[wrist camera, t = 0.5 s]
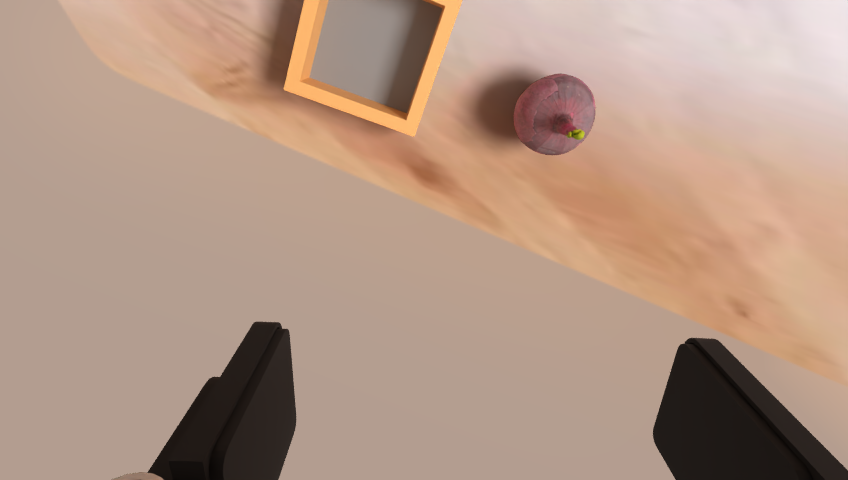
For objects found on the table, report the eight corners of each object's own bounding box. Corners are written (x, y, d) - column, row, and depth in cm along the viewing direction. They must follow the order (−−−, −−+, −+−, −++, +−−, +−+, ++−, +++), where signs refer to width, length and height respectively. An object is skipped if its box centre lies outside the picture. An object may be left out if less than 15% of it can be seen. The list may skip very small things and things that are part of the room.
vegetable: (499, 138, 41) (523, 168, 32) (514, 65, 39) (545, 74, 29) (565, 148, 41) (608, 180, 32) (585, 75, 39) (637, 88, 30)
